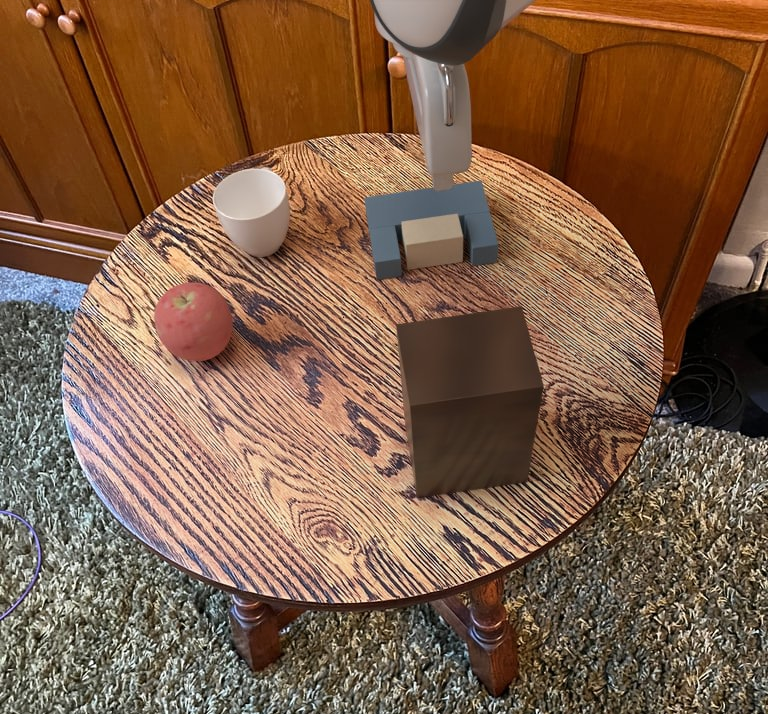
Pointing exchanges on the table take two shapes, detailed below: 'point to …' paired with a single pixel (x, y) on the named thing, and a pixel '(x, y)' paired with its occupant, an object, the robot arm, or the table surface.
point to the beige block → (432, 241)
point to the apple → (193, 321)
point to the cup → (253, 210)
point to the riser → (469, 400)
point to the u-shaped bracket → (425, 204)
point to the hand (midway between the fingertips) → (434, 151)
